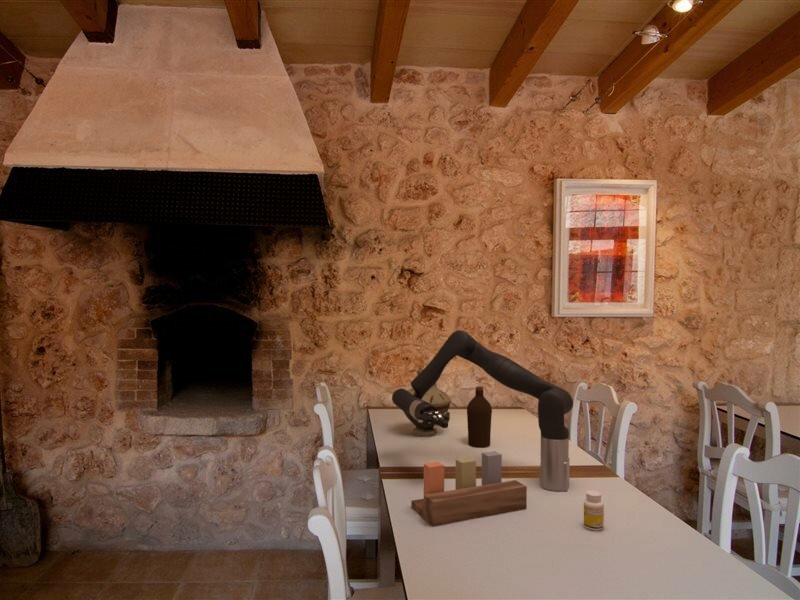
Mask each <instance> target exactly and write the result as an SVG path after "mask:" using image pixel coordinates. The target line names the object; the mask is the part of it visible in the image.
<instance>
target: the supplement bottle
mask: <svg viewBox="0 0 800 600" xmlns="http://www.w3.org/2000/svg"><path fill="white" fill-rule="evenodd" d="M585 495H586V496H585V497H586V498H585V499H584V500H583V526H584V528H585V529H588V530H590V531H603V530H604V528H605V504H604V501H603V500H602V493H601V492H600V491H597V490H587V491H586V494H585Z"/></svg>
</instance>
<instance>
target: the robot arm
mask: <svg viewBox="0 0 800 600" xmlns="http://www.w3.org/2000/svg"><path fill="white" fill-rule="evenodd" d="M455 357H459V358H461V359H464V360H465V361H469V362H470V363H472V364H475V366H476V365H477V366H478V367H479V368H480V369H482V370H483V371H484V372H485V373H486V374H487V375H489V376H490V377H491V378H492V379H494V380H495V381H497V382H499V383H500V384H501V385H503V386H505V387H506V388H509V389H511V390H514V391H517V392H520V393H523V394H527V395H529V396H531V397H533V398H535V399H537V400H538V402H537V415H538V417H537V418H538V420H537V421H538V428H539V431H540V464H539V466H540V472H539V473H540V478H539V479H540V480H539V481H540V484H539V485H540V487H541V488H543V489H545V490H548V491H551V492H552V491H553V492H561V491H563V492H568V489H569V487H570V457H569V454H570V453H569V450H570V447H569V446H570V445H569V444H570V441H569V439H570V433H569V432H570V431H569V430H570V429H568V427H566V425H565V415H566V414H568V413H569V412H570V411H571V410H572V409H573V407H574V400H573V397H572V395H571V394H570V393H569V392H568V391H567V390H566V389H564V388H562V387H560V386H557V385H556V384H553V383H551V382H549V381H547V380H545V379H543V378H541V377H539V376H538V375H537V374H534V373H533V372H532V371H530V370H529V369H527V368H525V367H523V366H522V365H520V364H519V363H517V362H515V361H514V360H512V359H510V357H509V358H508V357H506V356H505V355H503V354H501V353H497V352H494V351H492V350H490V349H488V348H486V347H485V346H484V345H482V344H481V343H480V342H478V341H477V340H476V339H475V338H474V337H473V336H472V335H470V334H469V333H468V332H467V331H464V330H455V331H453V332H452V333H450V335H449V337H448V338H447V339H446V341H444V343H443V345H442V346H441V347H440V349H439V350H438V351H437V353H436V354H435V355H434V356H433V358H432V359H431V360H430V362H429V363H428V364H427V365H426V366H425V367H424V368H422V369H423V370H422V371H421V372H420V373H419V374H418V375H417V374H416V376H415V377H414V378H413V379H412V380H411V382H410V386H411V388H413V389H414V391H415V393H414V395H412V394H411V393H410V392H408V391H407V390H408V389H406V388H398V389H396V390H394V392H393V393H392V396H391V400H392V403H393V404H394V405H395V406H396V407H397V408H398V409H400V410H401V411H402V412H403V411H404V412H405V413H408V414H410V415H411V416H413V417H414V418H415V419H416V420H418V424H419V425H427V426H434V425H435V426H436V427H439V428H442V429H448V427H449V421H450V420H451V415H450V412H449V411H448V412H446V413H445V414H442V412H438V410H437V408H436V407H435V406H433V405H432V404H430V403H428V402H426V401H424V400H422V398H423V396H424V395H425V393H426V392H427V391H428V390H429V389H430V388H431V387H432V386H433V385H434V384H435V383H436V384H437V382H438V380H440V378H441V376H442V374H443V372H444V370H445V368H446V367H447V365H448V364H449V363H450V362H451V361H452V360H453V359H454V358H455ZM404 412H403V413H404ZM435 426H434V427H435Z"/></svg>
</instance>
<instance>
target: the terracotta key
mask: <svg viewBox="0 0 800 600" xmlns="http://www.w3.org/2000/svg"><path fill="white" fill-rule="evenodd" d="M444 491H445V464H443V463H441V462H440V461H432V462H425V463H423V496H424V495H426V494H432V493H438V492H444Z"/></svg>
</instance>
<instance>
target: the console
mask: <svg viewBox="0 0 800 600" xmlns="http://www.w3.org/2000/svg"><path fill="white" fill-rule="evenodd" d="M527 487H528V486H527V485H525V484H523V483H521V482H520V481H518V480H516V479H513V480H507V481H502V482H500V483H494V484H488V485H482V484H481V485H476V486H475V487H469V488H463V489H457V490H455V489H450V490H444V492H438V493H432V494H426V495H424V494H423V498H421V499H414V500H411V508H412V509H413V510H414V511H416V513H417V514H419V515H420V517H422V519H424V520H425V521H426V522H427V523H428V524H429V525H431V526H432V527H437V526H443V525H448V524H453V523H458V522H464V521H469V520H475V519H480V518H487V517H490V516H491V517H492V516H496V515H497V516H498V515H503V514H507V513H513V512H518V511H522V510H527V507H528V506H527V503H528V502H527V501H528V500H527V499H528V498H527V497H528V491H527V490H528V488H527Z"/></svg>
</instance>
